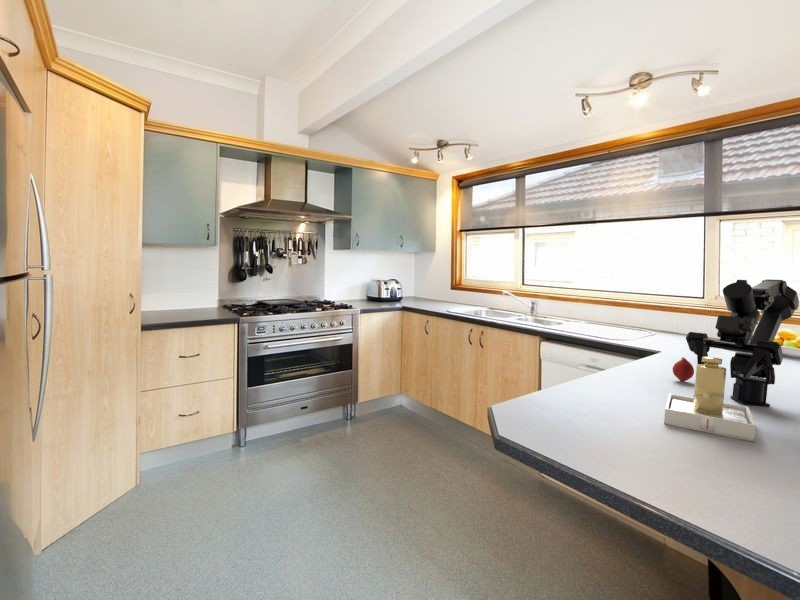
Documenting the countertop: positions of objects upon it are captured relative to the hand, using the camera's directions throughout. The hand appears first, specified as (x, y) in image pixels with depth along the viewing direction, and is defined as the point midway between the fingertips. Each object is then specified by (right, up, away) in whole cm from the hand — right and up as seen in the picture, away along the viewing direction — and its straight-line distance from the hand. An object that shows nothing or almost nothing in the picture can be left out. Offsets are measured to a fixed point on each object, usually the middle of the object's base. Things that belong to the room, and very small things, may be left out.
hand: (720, 373), depth 103 cm
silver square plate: (-6, -9, -3) cm, 11 cm away
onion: (+15, -9, +36) cm, 40 cm away
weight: (-6, -8, -3) cm, 10 cm away
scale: (-6, -11, -3) cm, 13 cm away
